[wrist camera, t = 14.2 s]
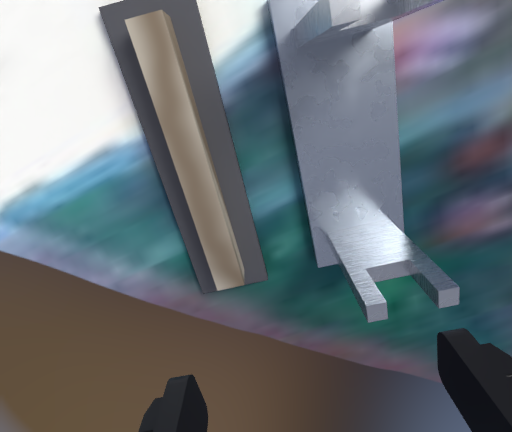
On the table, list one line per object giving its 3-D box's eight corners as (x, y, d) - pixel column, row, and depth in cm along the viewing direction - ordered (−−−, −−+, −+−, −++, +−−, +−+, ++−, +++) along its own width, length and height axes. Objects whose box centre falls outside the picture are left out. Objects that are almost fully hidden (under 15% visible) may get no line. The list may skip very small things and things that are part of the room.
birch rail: (170, 16, 27) (161, 9, 24) (244, 269, 37) (244, 284, 35) (136, 25, 27) (124, 19, 25) (219, 275, 37) (217, 290, 35)
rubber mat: (192, -15, 27) (190, -19, 26) (267, 275, 39) (268, 279, 38) (103, 9, 28) (98, 7, 27) (204, 288, 39) (203, 293, 38)
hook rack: (381, -31, 27) (504, -130, 14) (399, 243, 38) (479, 327, 25) (267, 0, 28) (286, -68, 15) (315, 261, 38) (351, 352, 25)
